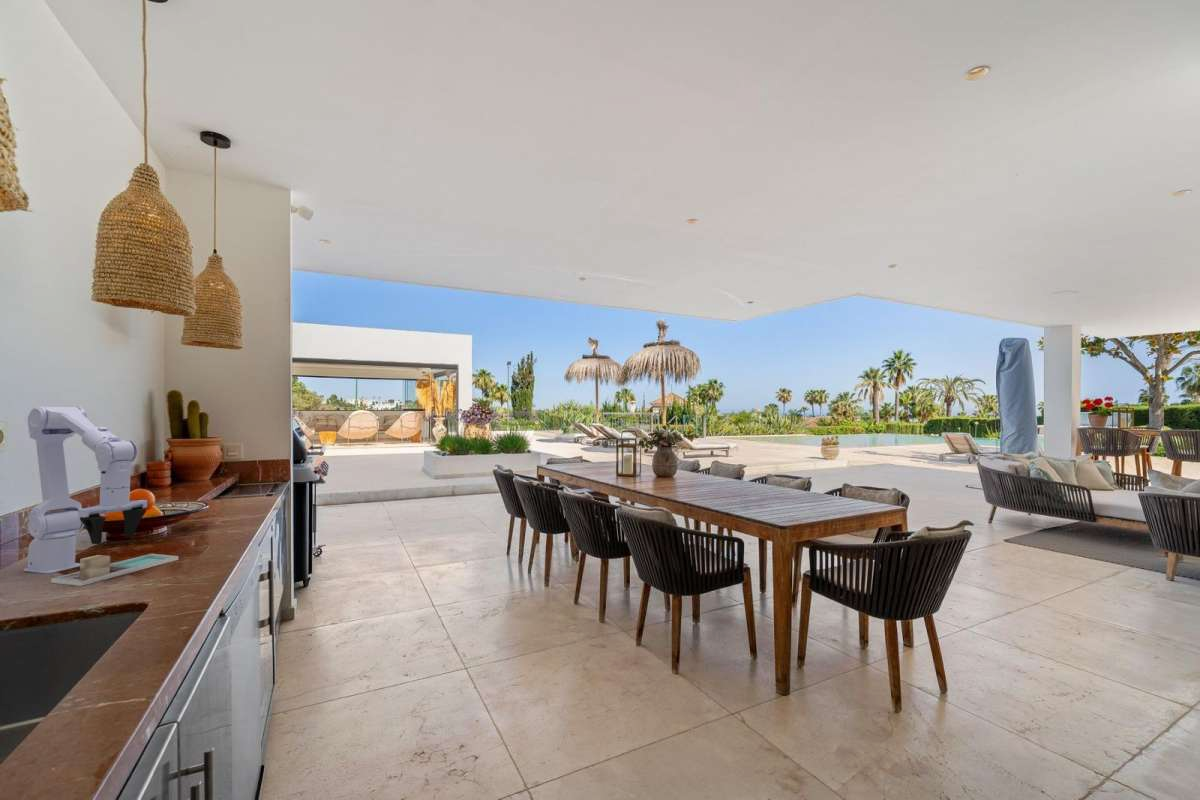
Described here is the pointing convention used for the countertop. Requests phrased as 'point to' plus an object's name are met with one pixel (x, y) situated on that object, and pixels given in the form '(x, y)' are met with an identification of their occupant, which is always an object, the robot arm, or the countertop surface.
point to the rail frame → (118, 569)
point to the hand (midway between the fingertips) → (113, 540)
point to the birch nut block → (94, 566)
